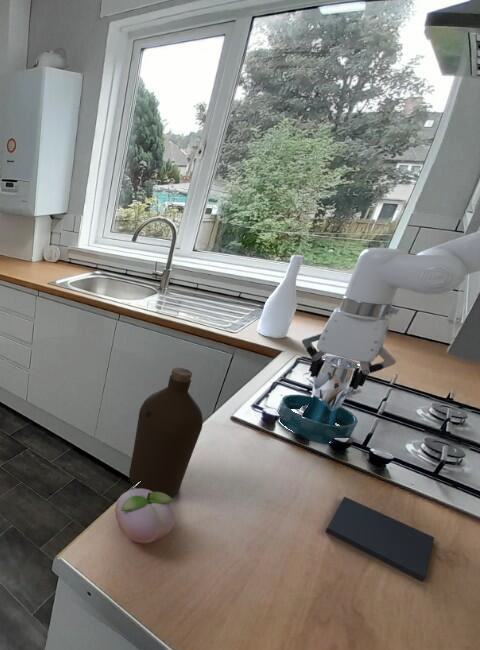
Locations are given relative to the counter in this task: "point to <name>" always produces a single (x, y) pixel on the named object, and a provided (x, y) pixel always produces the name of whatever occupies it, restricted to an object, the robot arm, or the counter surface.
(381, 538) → the mat
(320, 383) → the beer glass
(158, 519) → the decorative fruit
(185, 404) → the olive oil
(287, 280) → the wine bottle
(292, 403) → the pan
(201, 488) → the counter surface
